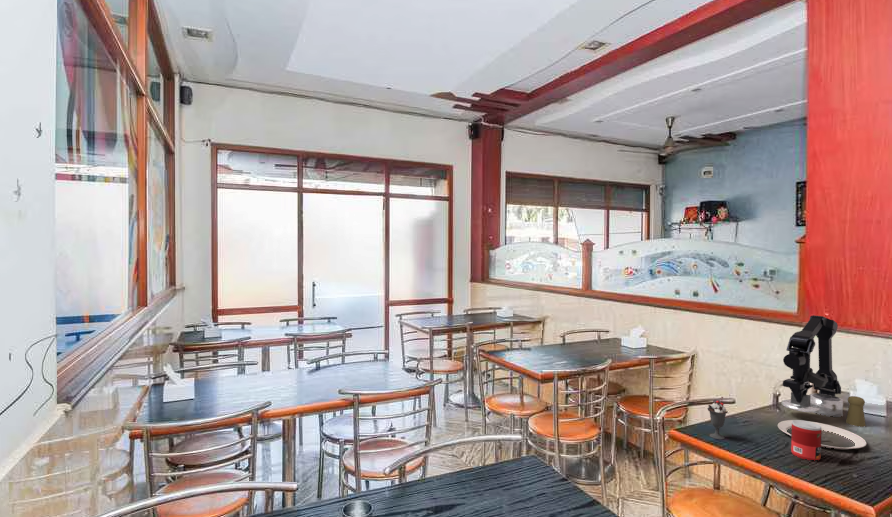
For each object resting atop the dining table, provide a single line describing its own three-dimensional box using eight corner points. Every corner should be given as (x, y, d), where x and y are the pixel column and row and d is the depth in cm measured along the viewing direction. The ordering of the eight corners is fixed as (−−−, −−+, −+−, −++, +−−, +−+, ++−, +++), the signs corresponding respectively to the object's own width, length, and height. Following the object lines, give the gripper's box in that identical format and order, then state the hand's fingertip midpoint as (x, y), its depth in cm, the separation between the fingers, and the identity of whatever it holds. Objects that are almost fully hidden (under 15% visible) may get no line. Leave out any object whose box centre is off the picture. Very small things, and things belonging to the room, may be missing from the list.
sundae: (729, 436, 170) (730, 397, 170) (725, 442, 165) (726, 401, 165) (709, 431, 174) (710, 393, 174) (704, 436, 169) (705, 397, 169)
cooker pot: (815, 406, 204) (816, 391, 204) (846, 414, 195) (847, 398, 194) (805, 410, 198) (805, 395, 198) (836, 418, 189) (837, 403, 189)
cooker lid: (789, 400, 199) (790, 387, 199) (825, 408, 188) (825, 395, 188) (776, 405, 192) (776, 392, 192) (811, 414, 181) (812, 400, 181)
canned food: (822, 463, 149) (823, 430, 149) (792, 457, 153) (793, 425, 153) (818, 454, 155) (819, 422, 155) (789, 449, 160) (790, 418, 159)
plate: (773, 438, 169) (773, 433, 169) (782, 420, 188) (782, 415, 188) (866, 460, 152) (866, 454, 152) (866, 437, 170) (866, 432, 170)
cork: (870, 426, 181) (870, 399, 180) (854, 426, 181) (855, 399, 180) (856, 421, 187) (857, 394, 186) (841, 420, 187) (842, 394, 186)
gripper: (815, 372, 178) (814, 412, 178) (834, 366, 188) (833, 403, 188) (782, 366, 187) (781, 403, 188) (802, 360, 197) (801, 396, 197)
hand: (800, 401), depth 190 cm, fingers closed on cooker lid, 2 cm apart
